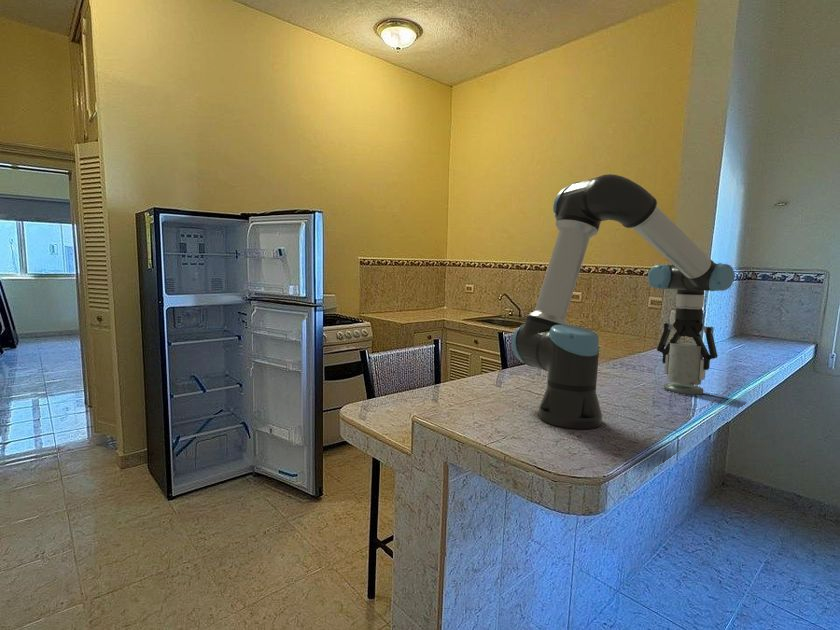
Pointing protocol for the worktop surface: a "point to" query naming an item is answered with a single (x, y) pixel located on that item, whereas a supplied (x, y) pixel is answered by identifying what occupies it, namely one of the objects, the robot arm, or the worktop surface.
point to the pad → (683, 389)
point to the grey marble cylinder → (684, 363)
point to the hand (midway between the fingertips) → (684, 376)
